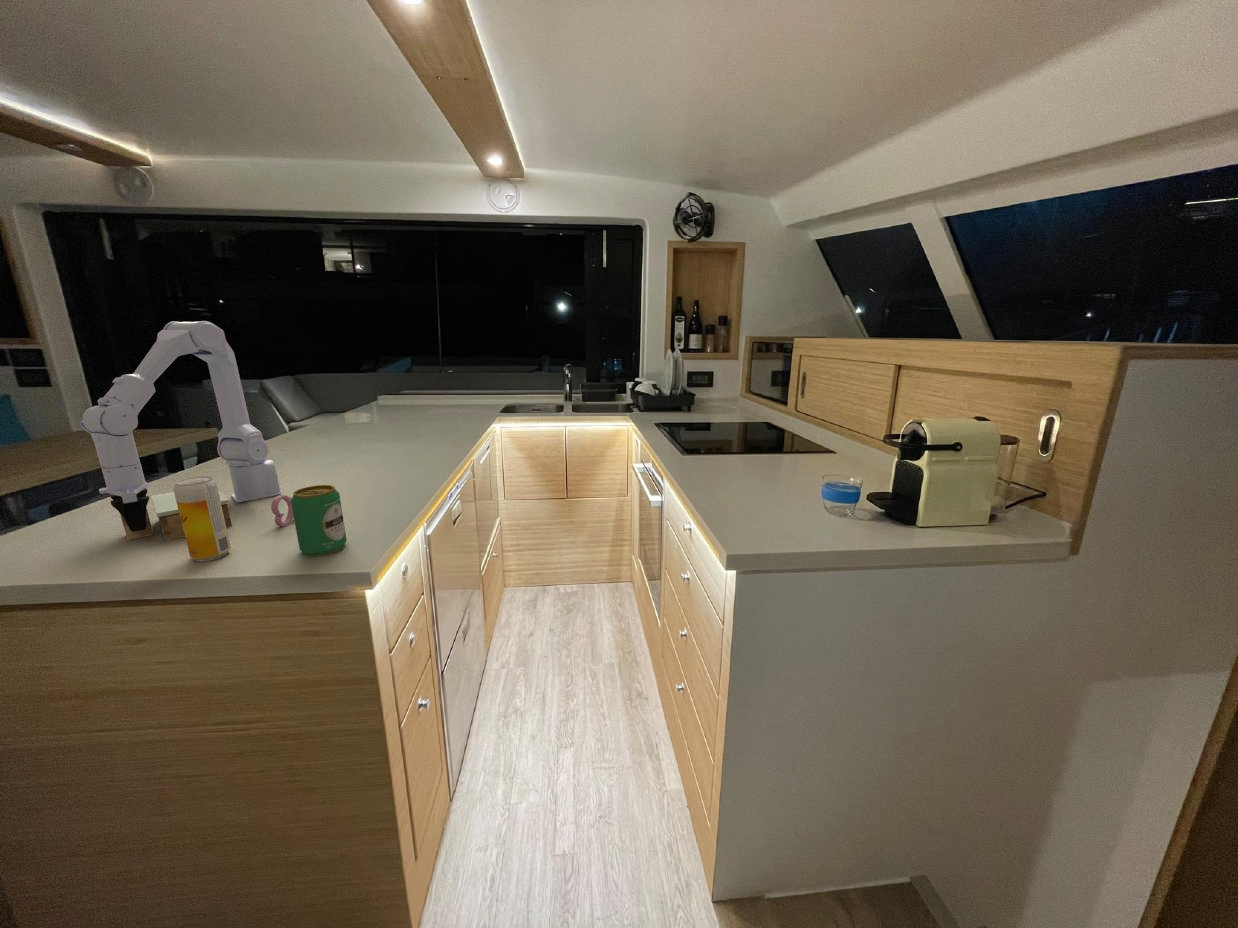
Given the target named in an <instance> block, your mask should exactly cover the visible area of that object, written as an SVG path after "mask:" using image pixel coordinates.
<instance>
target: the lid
mask: <svg viewBox="0 0 1238 928" xmlns="http://www.w3.org/2000/svg"><path fill="white" fill-rule="evenodd" d="M217 488H218V492H219V497H220V501H221V505H223V504H227V505H228V504H229V498H227V496H226V495H225V494H224V492H223V491H222V490H221V489H220V488H219V486H218V485H217ZM150 498H151V501H152V504H153V507H154V510H155V513H156V516H157V518H158V517H162V516H167V515H172V514H177V513H179V510H178V506H177V502H176V498H175V494H174V491H172V492H167V493H166V492H165V493H159V494H155V495H150Z"/></svg>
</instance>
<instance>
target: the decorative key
mask: <svg viewBox="0 0 1238 928" xmlns="http://www.w3.org/2000/svg"><path fill="white" fill-rule="evenodd" d="M291 499H292V497H290V496H288V495H275V496H274V498H273V499H272V501H271V504H270V509H271V512H272V514H273V515H274V516H275V517H274V523H275V525H276V526H277V527H286V526H288V525H290V524H291V523H292V521H294V516H293V511H292V505H291ZM282 500H283V501H285V503H286V505H287V507H288V509H287V516H286V517H285V520H284V521H283V520H282V519H283V517H284V515H285V513H281V512H280V510H279V504H280V502H281V501H282Z"/></svg>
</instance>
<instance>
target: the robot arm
mask: <svg viewBox="0 0 1238 928" xmlns="http://www.w3.org/2000/svg"><path fill="white" fill-rule="evenodd" d="M226 339H227V338H226V334H225V331H224V330H223V329H222V328H220V327H219V326H217V325H216V324H214V323H212V322H211V321H207V320H201V321H170V322H168V323H167V324H165V325H164V327H163V329H161V330H160V331H159V332H158V333H157V337H156V341H155V342H154V344H153V345H152V346H151V348H150V349H149V351H148V352H147V353H146V355H145V356H144V358H143V359H142V360H141V362H140V364H139V365H138V366H137V368H136V369H135V371H133V373H132V374H131V373H128V374H122V375H121V376H119V377H115V378H114V379H113V380H112V383H113V385H112V386H111V387H110V389H109V390H108V391H107V393H106V394H105V395H104V396H103V397H99V399H98V400H97V404H98V405H94V406H91V407H89V408H87V409H86V410H85V411H84V412H83V415H82V420H80V421H79V425H80V426H81V428H82V429H83V430H84V431H85V432H86V433H88V434H89V435H90V436H91V439H92V442H93V444H94V448H95V451H96V455H97V457H98V461H99V462H98V463H99V465H100V467H101V472H102V475H103V479H104V482H105V486H106V487H101V488H99V489H98V492H99V494H100V495H102V494H110V498H111V499H112V500H110V504H111V506H112V507H113V508H114V509H115V510H117V511H118V513H119V515H120V514H121V515H122V516H123V518H124V520H125V521H126V523H127V525H128V527H129V528H130V530H131V531H132V532H135V531H140V530H145V529H146V508H147V506H148V504H149V500H150V496H149V495H147V493H148V488H147V487H148V482H147V481H146V479H145V476H144V472H143V468H142V464H141V461H140V457H139V453H138V448H137V446H136V441H135V437H134V434H133V431H134V429H136V428H138V424H139V419H138V415H139V414H140V412H141V410H142V409H143V408H144V406H145V405H146V404H147V403H148V402H149V401H150V400H151V398H152V396H154V394H155V393H156V388H155V385H154V383H155V382H156V380H157V379H159V378H160V376H161V375H162V374H163V373H164V372H165V371H166V370H167V369H168V367H170V365H171V364H172V363H174V361H175V360H176V359H177V358H178V357H180V356H185V355H190V354H192V355H193V356H195V357H197V358H199V359H200V360H202V361H204V362H206V363H207V367H208V371H209V375H210V379H211V383H212V387H213V391H214V396H215V399H216V404H217V408H218V412H219V416H220V420H221V424H222V428H221V429H220V430H219V432H218V433H217V438H218V443H217V448H216V449H217V454H218V456H219V457H220V458H221V459H222V460H224V461H225V464H226V465H228V469H229V474H230V480H231V483H232V488H233V493H232V494H231V495H230V496H231V498H232V499H233V500H234V501H235V503H236V504H237V503H238V504H239V503H244V502H249V501H254V500H258V499H259V500H260V499H264V498H269V497H273V496H274V497H276V496H281V495H282V493H281V488H280V484H279V483H280V482H279V479H278V478H279V477H278V473H277V468H276V464H275V462H274V461H273V460H272V459H267V457H268V455H269V449H270V448H269V445H268V443H267V441H266V440H265V439H264V437H263V434H262V432H261V430H259V429H258V428H256V427H255V426H253V425H252V424H251V420H250V417H249V416H250V415H249V412H248V407H247V404H246V399H245V395H244V390H243V386H242V383H241V382H242V381H241V378H240V377H241V376H240V373H239V367H238V364H237V360H236V356H235V351H234V350H233V349H232V347H231V346H230V345H229V343H228V341H227V340H226ZM266 459H267V460H266ZM121 515H120V516H121Z"/></svg>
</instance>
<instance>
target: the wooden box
mask: <svg viewBox="0 0 1238 928" xmlns="http://www.w3.org/2000/svg"><path fill="white" fill-rule="evenodd" d="M221 506H222V510H223V515H224V519H225V524H226V528H228V527H232V526H233V523H232V519H231V514H230V510H229V506H228V504H223V505H221ZM157 518H158V521H159V524H160V527H161V530H162V533H163V536H164V540H165V541H169V540H174V539H178V538H183V537H185V534H184V530H183V526H182V522H181V518H180V514H179V513H177V514H172V515H167V516H162V517H157Z"/></svg>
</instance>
